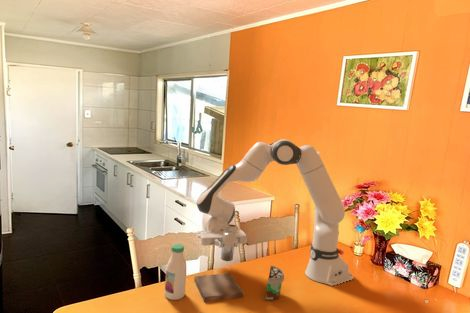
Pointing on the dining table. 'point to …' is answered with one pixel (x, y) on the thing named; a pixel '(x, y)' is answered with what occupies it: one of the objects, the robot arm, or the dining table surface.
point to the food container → (274, 283)
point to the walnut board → (218, 287)
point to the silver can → (228, 245)
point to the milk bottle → (176, 274)
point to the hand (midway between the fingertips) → (229, 245)
